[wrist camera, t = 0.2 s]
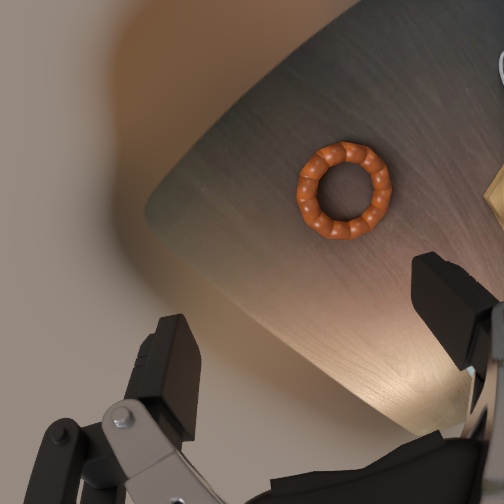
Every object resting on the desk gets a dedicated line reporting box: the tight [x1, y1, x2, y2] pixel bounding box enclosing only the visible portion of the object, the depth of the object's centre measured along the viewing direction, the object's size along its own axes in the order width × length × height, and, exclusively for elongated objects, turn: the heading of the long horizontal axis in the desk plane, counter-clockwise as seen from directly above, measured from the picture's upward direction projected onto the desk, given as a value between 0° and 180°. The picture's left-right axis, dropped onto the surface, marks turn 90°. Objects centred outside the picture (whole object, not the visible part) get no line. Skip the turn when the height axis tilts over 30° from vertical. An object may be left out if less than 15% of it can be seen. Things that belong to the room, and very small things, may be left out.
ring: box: [296, 142, 392, 240], centre depth 25 cm, size 8×8×2 cm
